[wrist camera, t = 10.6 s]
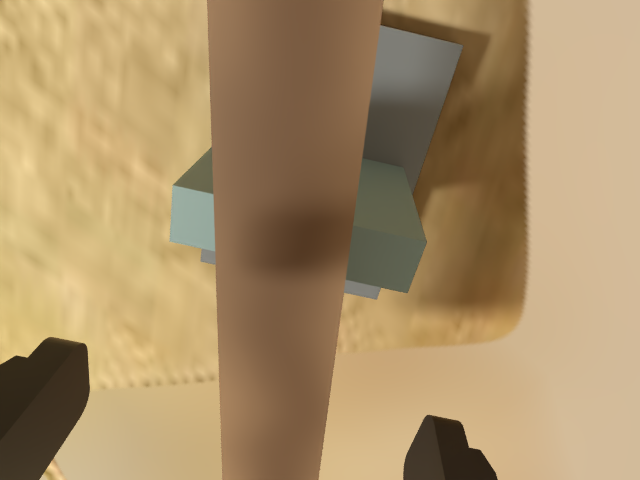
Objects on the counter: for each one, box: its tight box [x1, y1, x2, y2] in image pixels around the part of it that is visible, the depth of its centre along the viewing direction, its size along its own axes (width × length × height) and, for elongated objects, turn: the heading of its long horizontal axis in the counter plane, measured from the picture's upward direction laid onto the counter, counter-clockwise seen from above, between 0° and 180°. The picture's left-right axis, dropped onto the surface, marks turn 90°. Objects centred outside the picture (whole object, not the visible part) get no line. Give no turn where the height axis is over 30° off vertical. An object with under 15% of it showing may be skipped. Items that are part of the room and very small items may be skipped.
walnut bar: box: [207, 0, 384, 480], centre depth 16 cm, size 4×26×4 cm, turn 175°
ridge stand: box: [170, 25, 463, 300], centre depth 22 cm, size 12×16×10 cm
